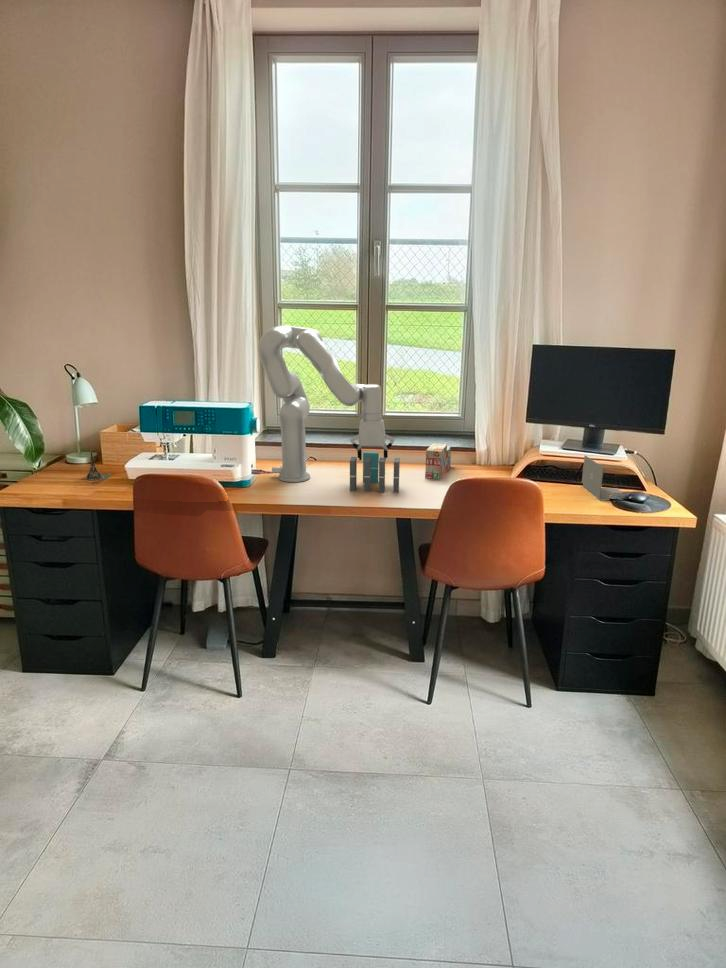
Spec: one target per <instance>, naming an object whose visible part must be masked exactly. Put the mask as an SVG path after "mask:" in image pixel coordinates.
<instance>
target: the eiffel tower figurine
mask: <svg viewBox="0 0 726 968" xmlns="http://www.w3.org/2000/svg"><path fill="white" fill-rule="evenodd" d="M89 451H90V467H89V470H88V472H87V473H88V474H87V475H86V476H85V478H86V479H87V480H88V481H94V482H91V483H92V485H93V484H94V485H97V484H99V483H101V482H103V481H104V480H106V479H108V478H110V477H113V475H112V474H111V473H102V474H101V472H100V471H98V469H97V468H96V465H95V461H94V456H93V450H92V449H90V450H89ZM95 480H99V481H95Z"/></svg>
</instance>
